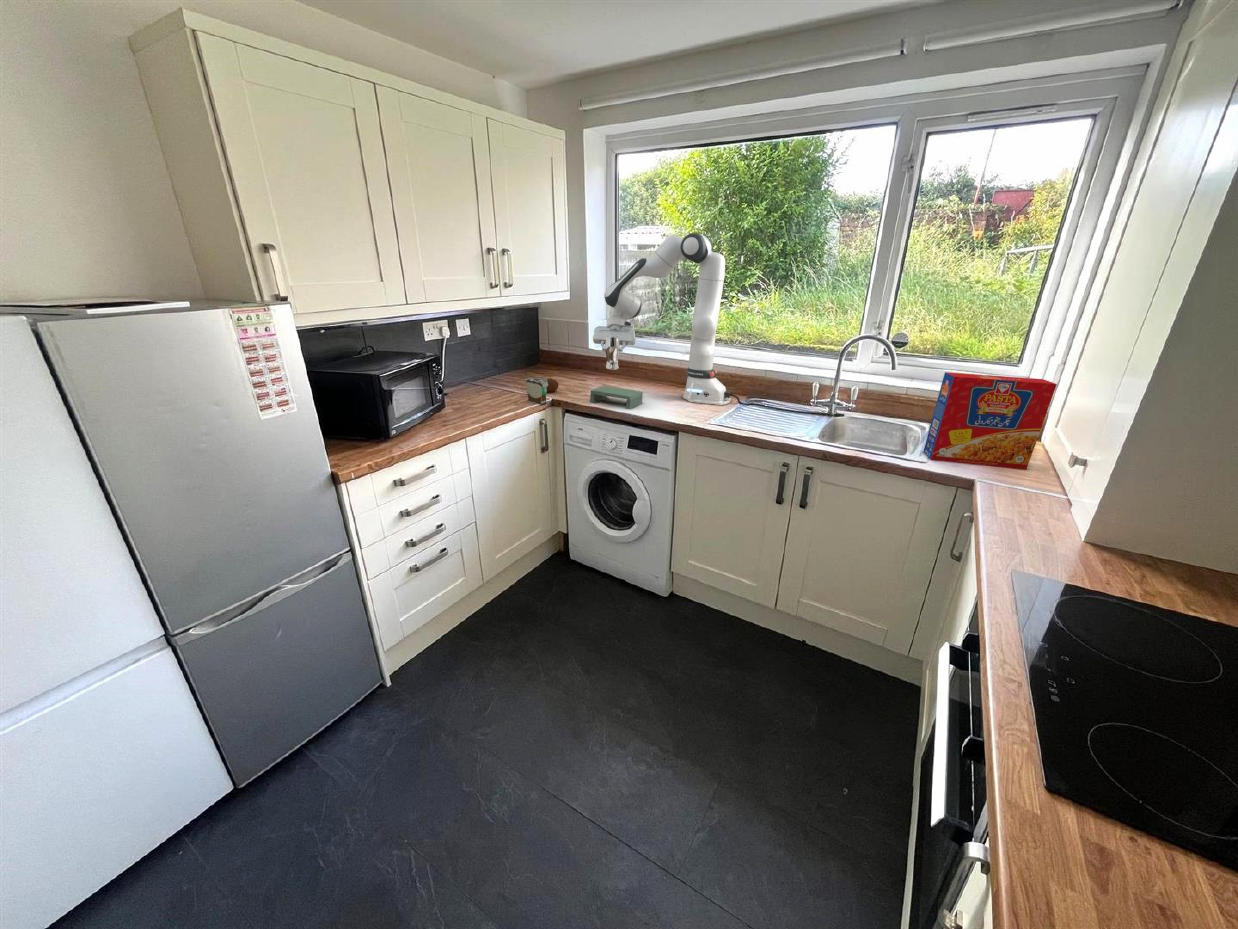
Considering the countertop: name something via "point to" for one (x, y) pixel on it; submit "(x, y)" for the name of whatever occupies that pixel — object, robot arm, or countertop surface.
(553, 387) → the potato
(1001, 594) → the countertop surface
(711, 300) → the robot arm
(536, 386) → the food container
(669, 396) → the countertop surface
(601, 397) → the shelf
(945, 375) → the pasta box
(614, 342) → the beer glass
